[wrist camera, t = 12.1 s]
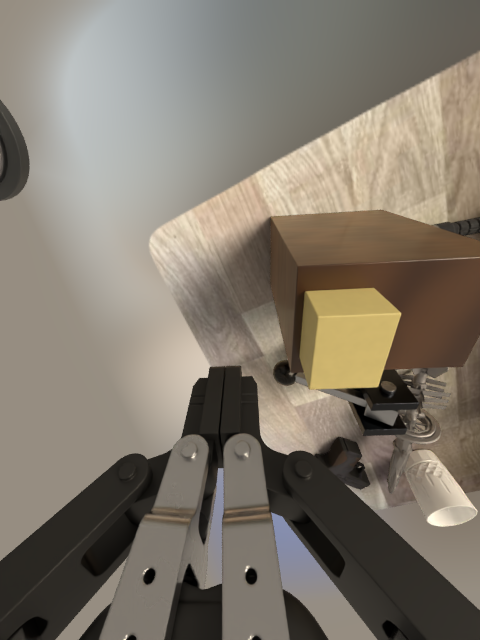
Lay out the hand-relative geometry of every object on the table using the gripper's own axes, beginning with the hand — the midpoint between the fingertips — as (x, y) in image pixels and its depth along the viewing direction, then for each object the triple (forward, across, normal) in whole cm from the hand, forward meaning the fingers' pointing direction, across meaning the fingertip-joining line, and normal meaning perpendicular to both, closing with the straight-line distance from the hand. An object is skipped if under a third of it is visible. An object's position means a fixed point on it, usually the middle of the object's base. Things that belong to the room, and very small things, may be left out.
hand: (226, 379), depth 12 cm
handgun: (+19, -23, +39) cm, 49 cm away
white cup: (+21, -34, +44) cm, 59 cm away
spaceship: (+20, -25, +26) cm, 42 cm away
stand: (+20, -10, 0) cm, 23 cm away
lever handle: (+14, -11, +14) cm, 22 cm away
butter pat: (+4, -6, 0) cm, 8 cm away
